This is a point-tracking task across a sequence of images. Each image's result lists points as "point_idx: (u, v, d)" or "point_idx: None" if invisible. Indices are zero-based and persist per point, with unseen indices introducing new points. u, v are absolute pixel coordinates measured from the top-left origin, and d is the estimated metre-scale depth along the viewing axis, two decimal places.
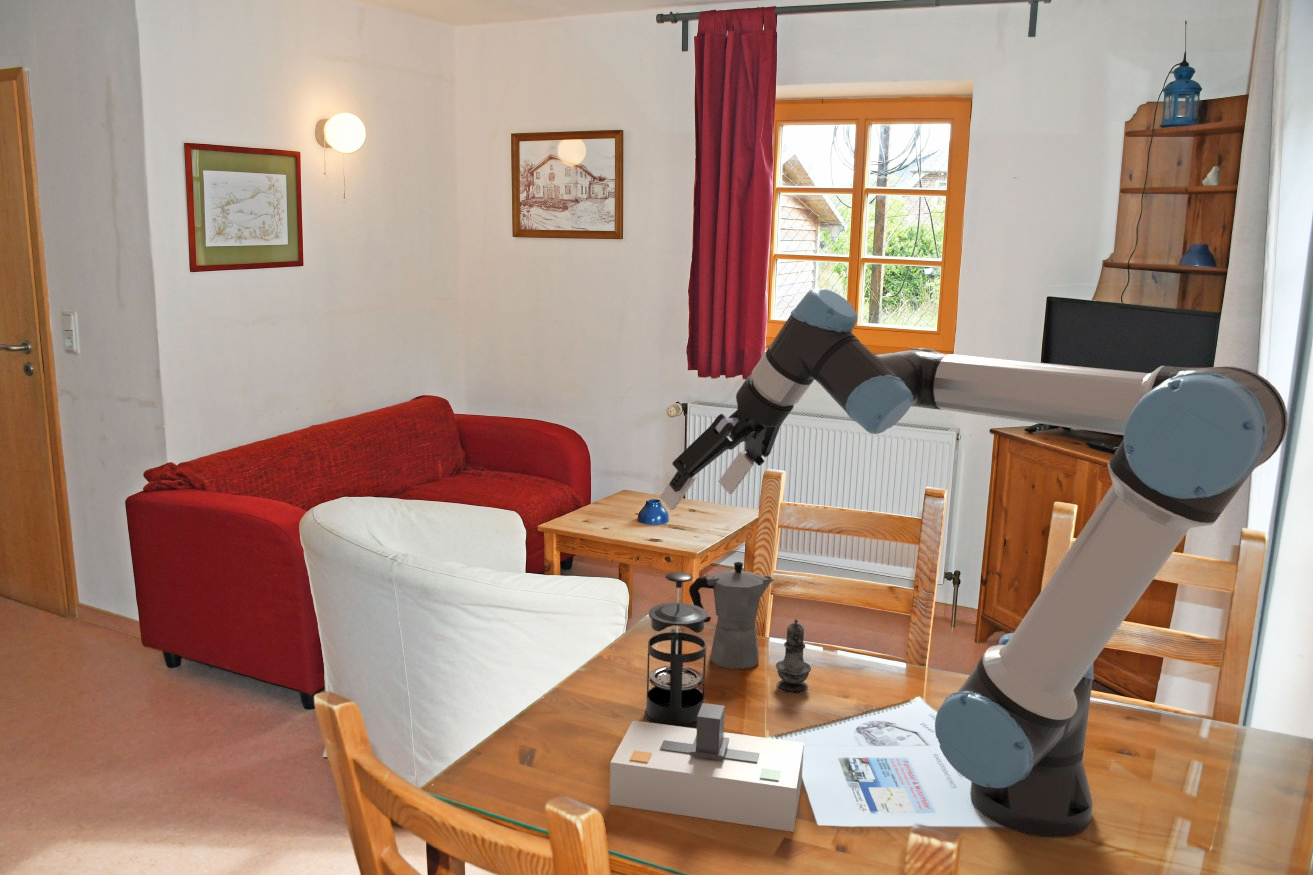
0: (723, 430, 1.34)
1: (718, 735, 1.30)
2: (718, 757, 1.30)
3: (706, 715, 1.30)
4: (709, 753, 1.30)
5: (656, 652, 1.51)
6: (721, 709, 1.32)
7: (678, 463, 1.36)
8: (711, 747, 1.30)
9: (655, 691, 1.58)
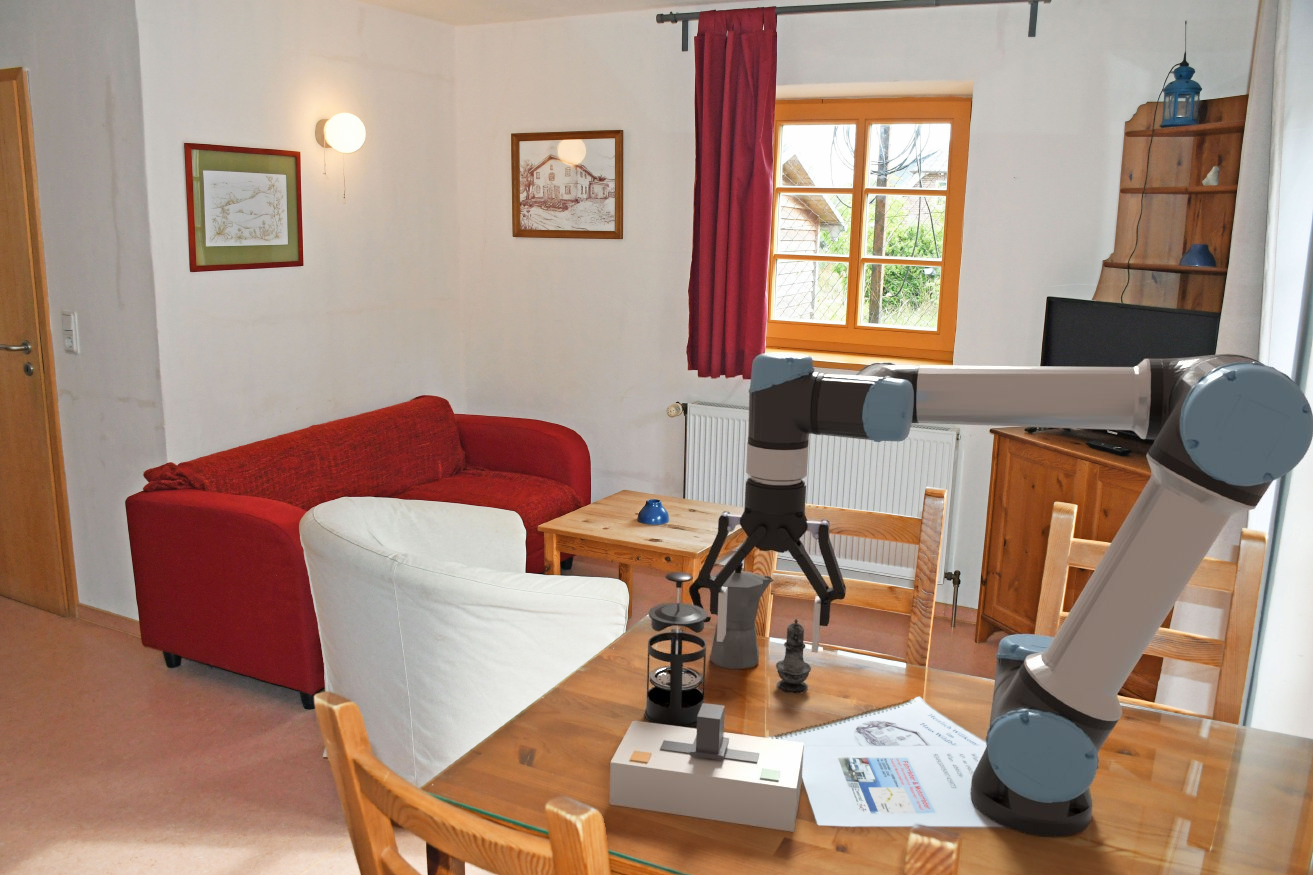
0: None
1: (718, 735, 1.30)
2: (718, 757, 1.30)
3: (706, 715, 1.30)
4: (709, 753, 1.30)
5: (656, 652, 1.51)
6: (721, 709, 1.32)
7: None
8: (711, 747, 1.30)
9: (655, 691, 1.58)
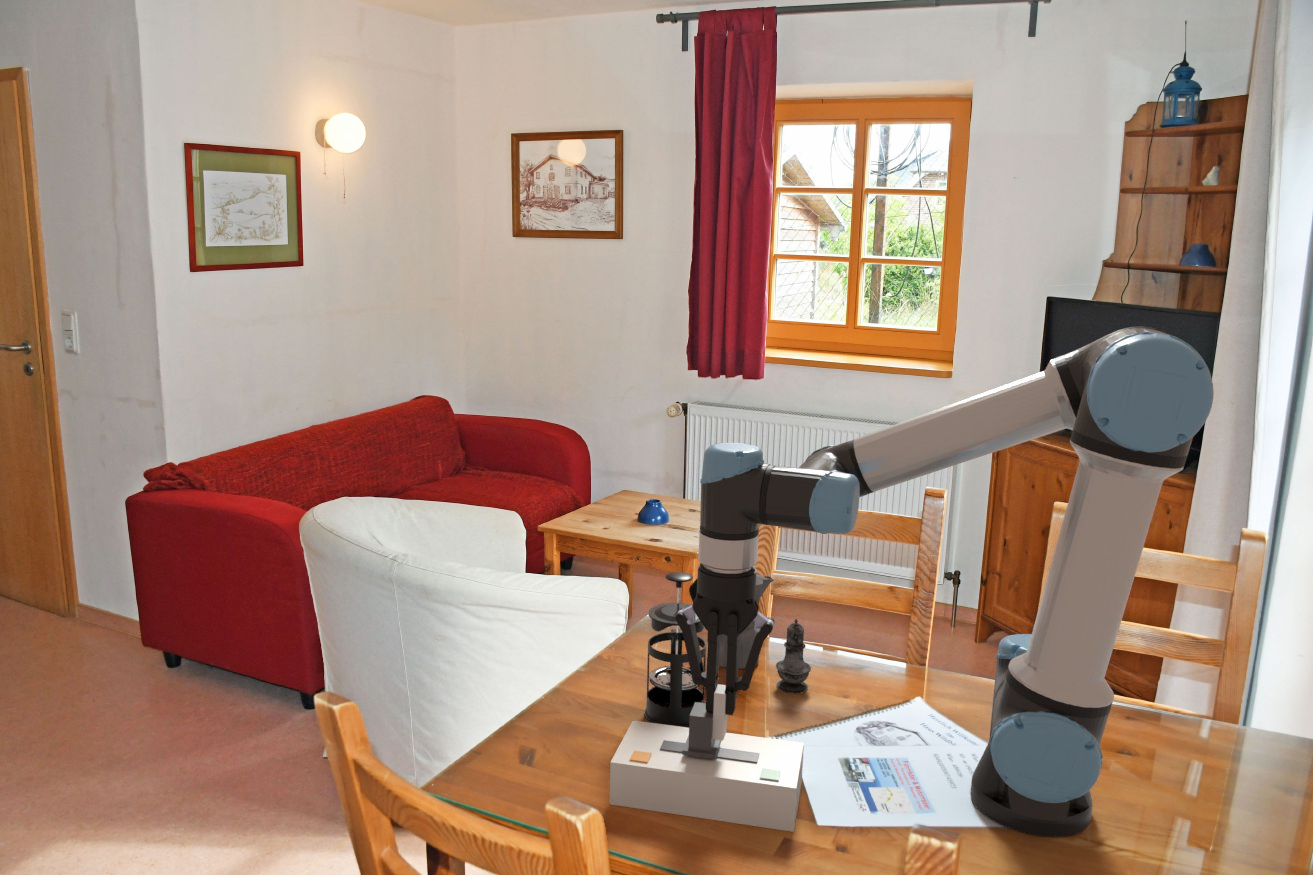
0: None
1: (710, 734, 1.30)
2: (710, 756, 1.30)
3: (698, 715, 1.30)
4: (701, 752, 1.30)
5: (656, 652, 1.51)
6: None
7: None
8: (703, 746, 1.31)
9: (655, 691, 1.58)
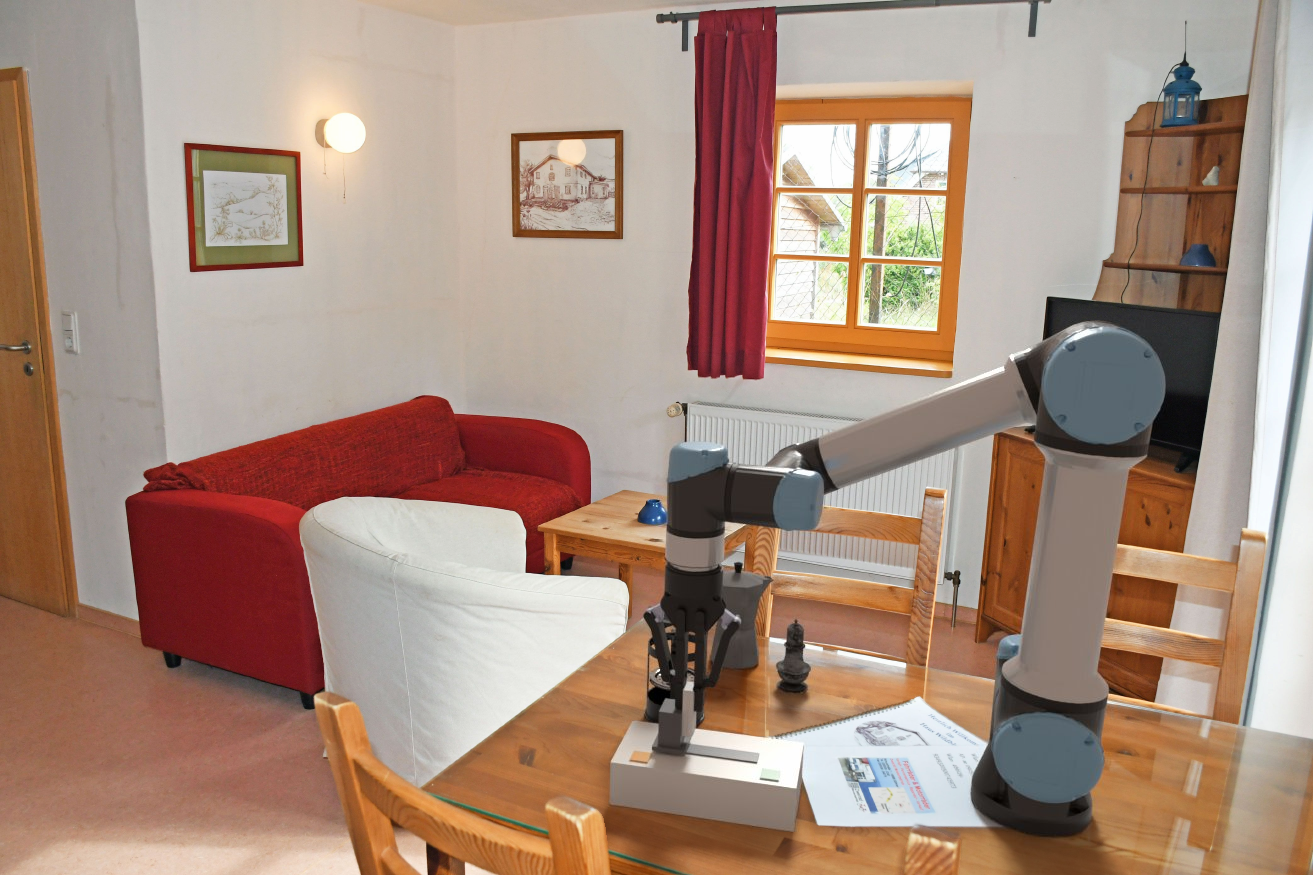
0: None
1: (679, 730, 1.31)
2: (679, 752, 1.31)
3: (668, 711, 1.31)
4: (671, 748, 1.31)
5: None
6: None
7: None
8: (673, 742, 1.31)
9: (655, 691, 1.58)
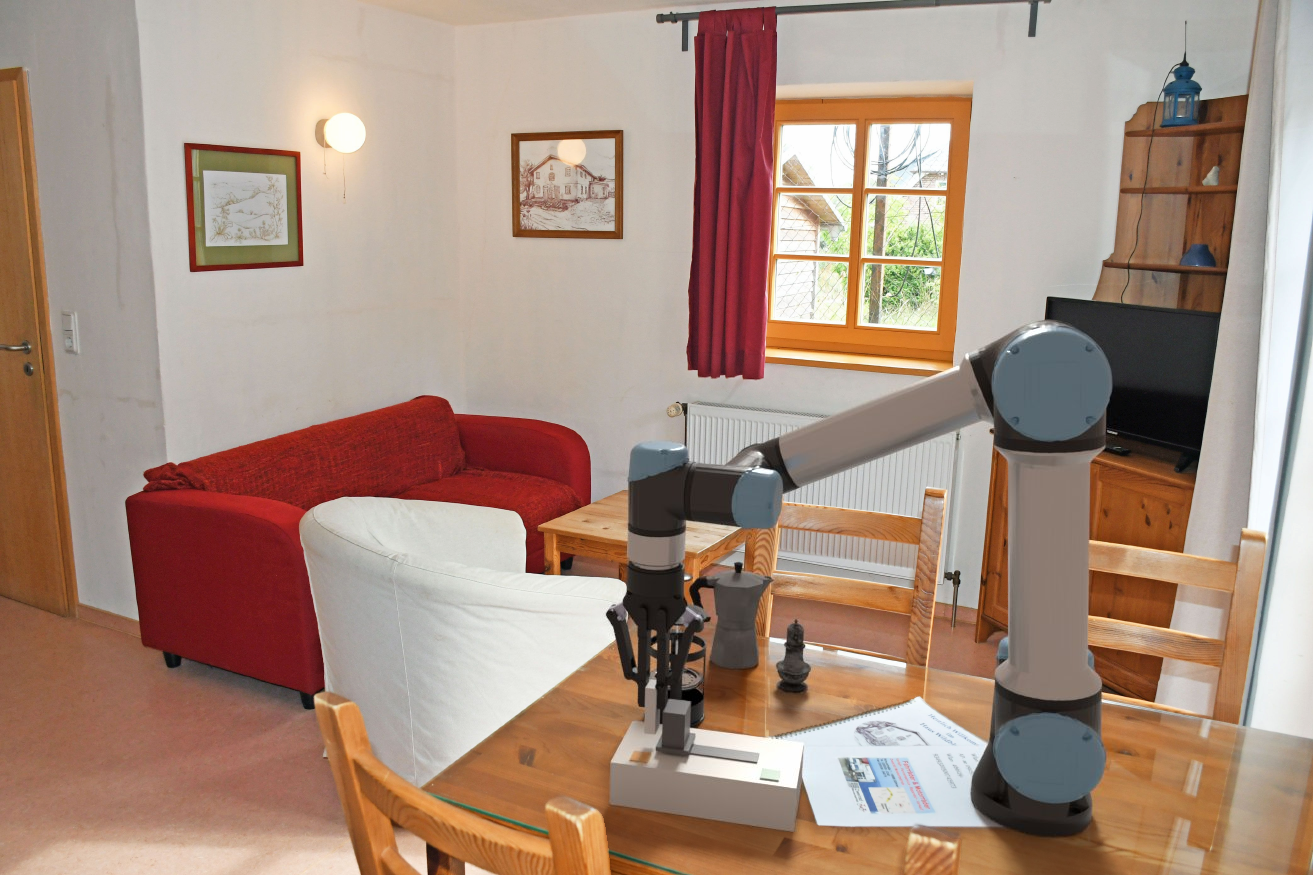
0: None
1: (683, 730, 1.31)
2: (683, 752, 1.31)
3: (671, 711, 1.31)
4: (674, 748, 1.31)
5: (656, 652, 1.51)
6: (687, 705, 1.33)
7: None
8: (677, 742, 1.31)
9: None
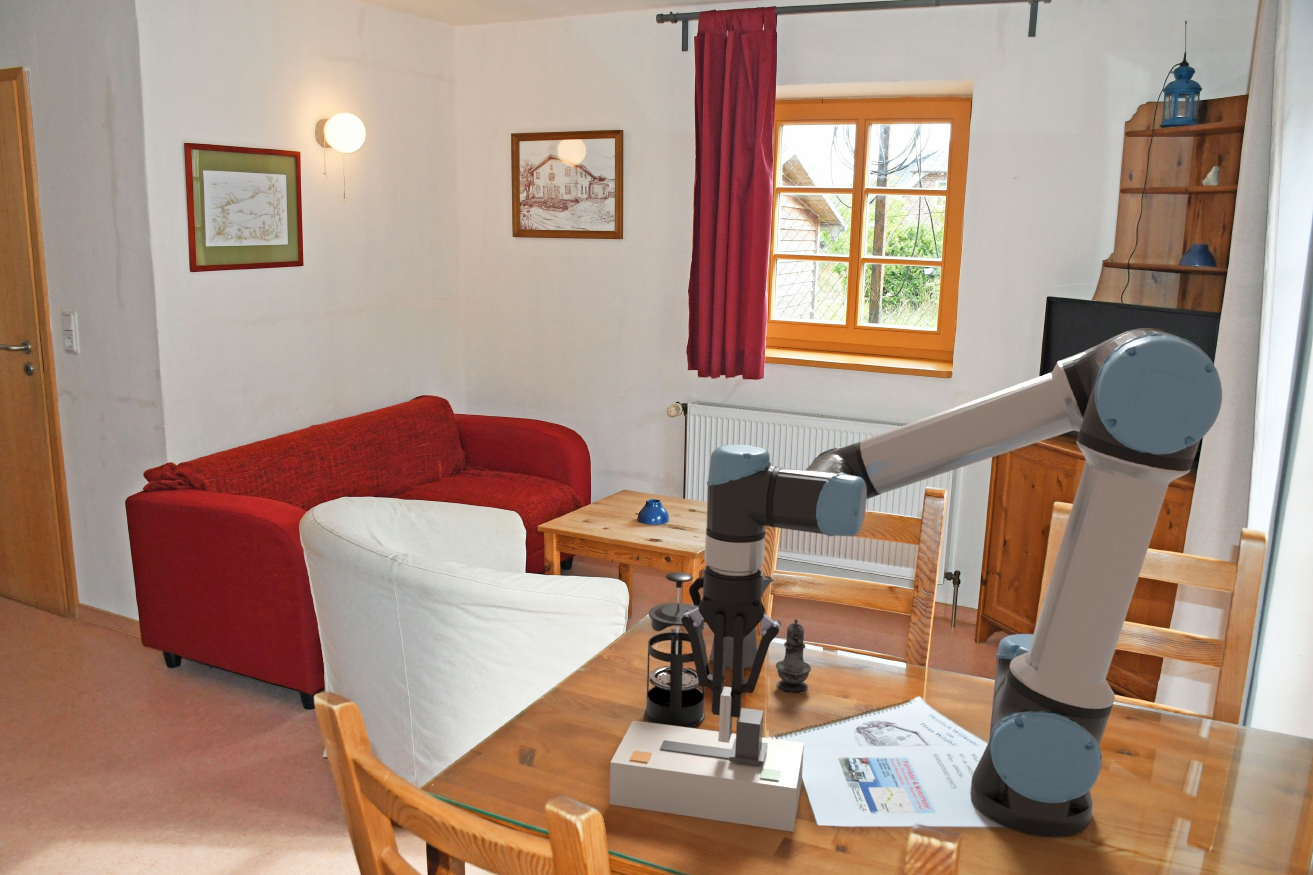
0: None
1: (758, 740, 1.29)
2: (758, 762, 1.29)
3: (746, 721, 1.29)
4: (749, 758, 1.29)
5: (656, 652, 1.51)
6: (760, 714, 1.31)
7: None
8: (751, 752, 1.29)
9: (655, 691, 1.58)
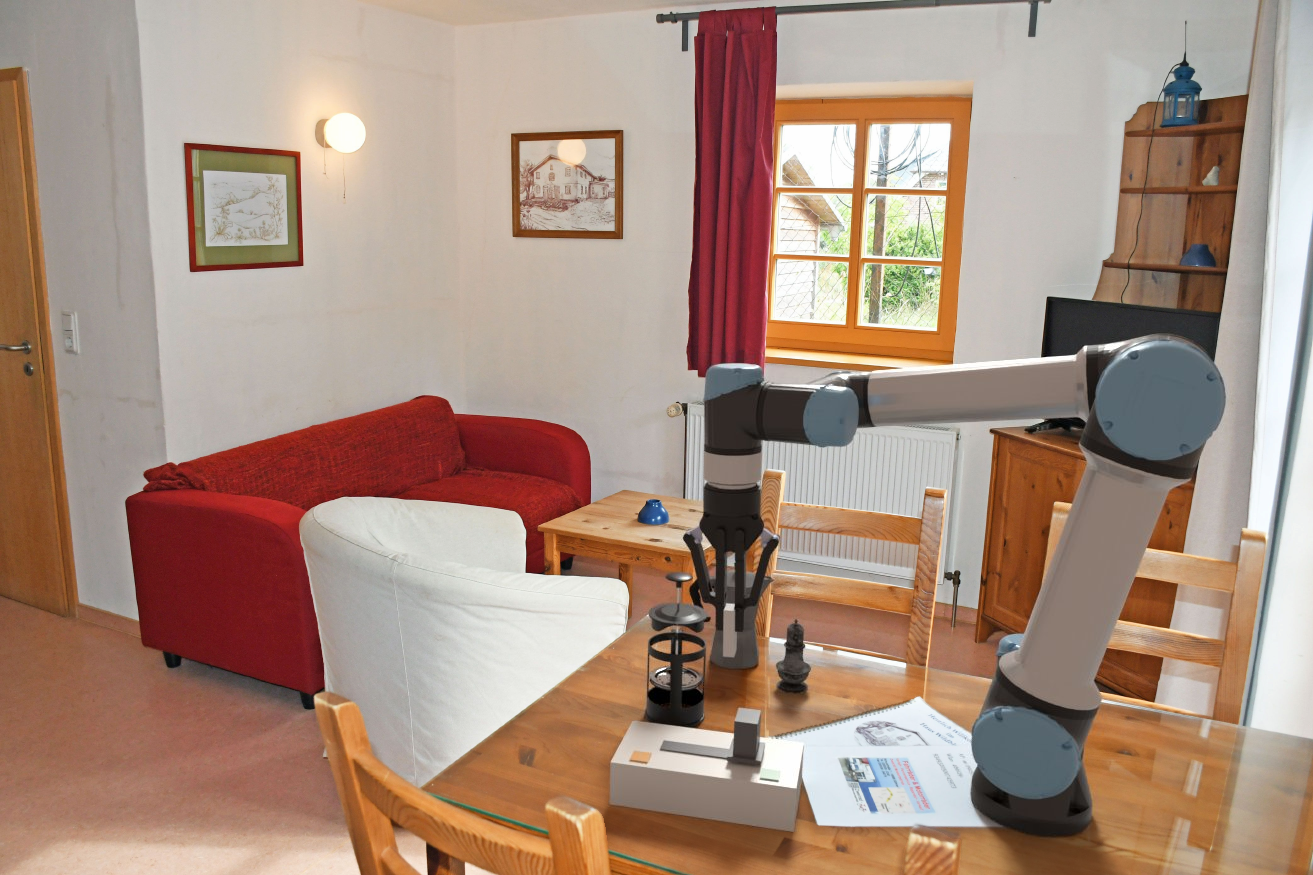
0: None
1: (755, 740, 1.29)
2: (755, 762, 1.29)
3: (743, 720, 1.29)
4: (746, 758, 1.29)
5: (656, 652, 1.51)
6: (758, 714, 1.31)
7: None
8: (748, 752, 1.29)
9: (655, 691, 1.58)
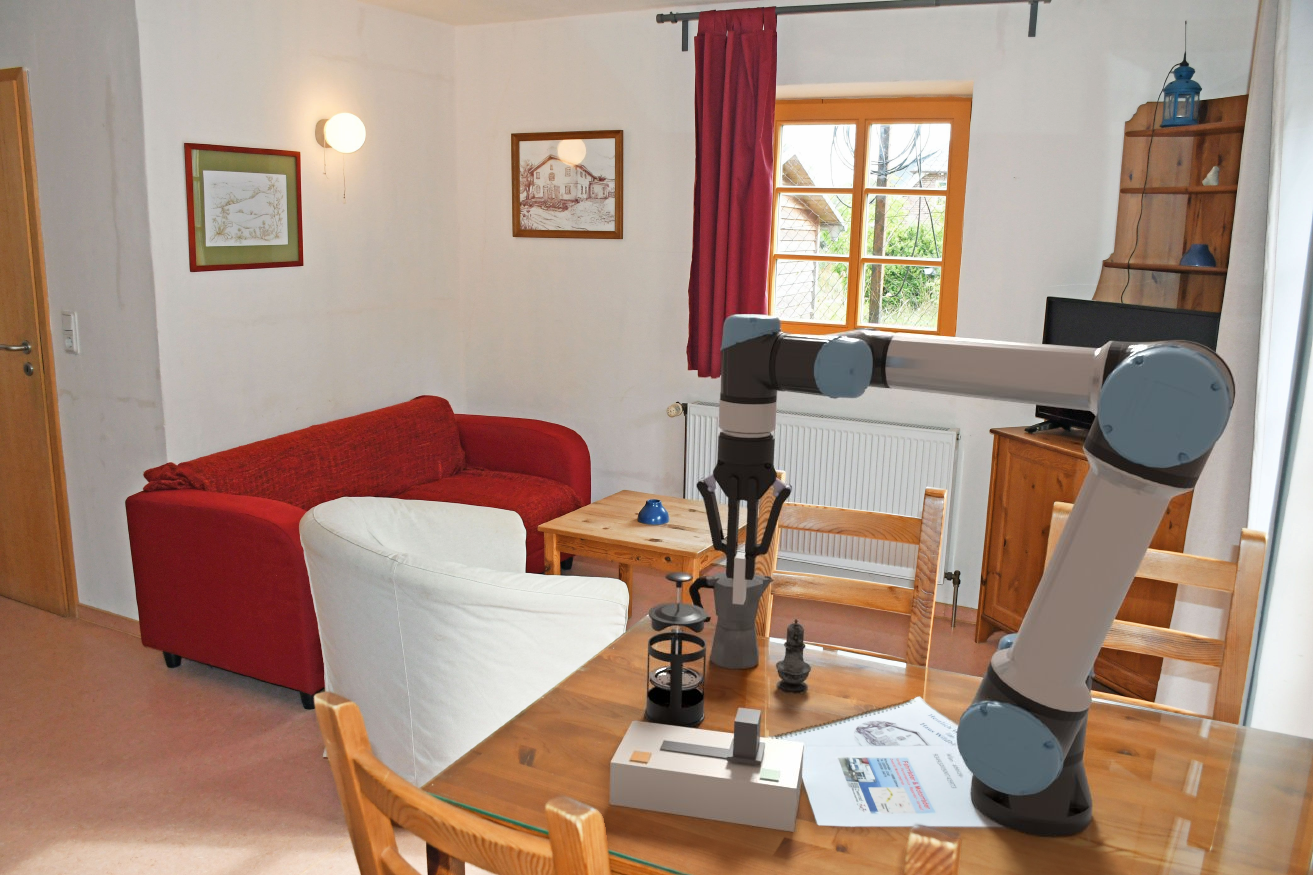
0: None
1: (755, 740, 1.29)
2: (755, 762, 1.29)
3: (743, 720, 1.29)
4: (746, 758, 1.29)
5: (656, 652, 1.51)
6: (758, 714, 1.31)
7: None
8: (748, 752, 1.29)
9: (655, 691, 1.58)
